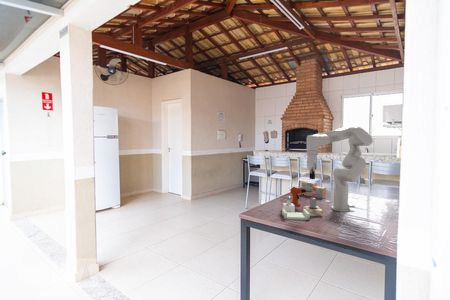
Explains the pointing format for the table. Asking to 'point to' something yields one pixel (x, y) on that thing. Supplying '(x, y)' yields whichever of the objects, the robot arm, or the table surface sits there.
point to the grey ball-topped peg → (288, 200)
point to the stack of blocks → (313, 189)
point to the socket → (314, 211)
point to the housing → (289, 207)
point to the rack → (296, 215)
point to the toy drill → (295, 196)
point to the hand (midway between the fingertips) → (312, 178)
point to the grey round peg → (312, 203)
